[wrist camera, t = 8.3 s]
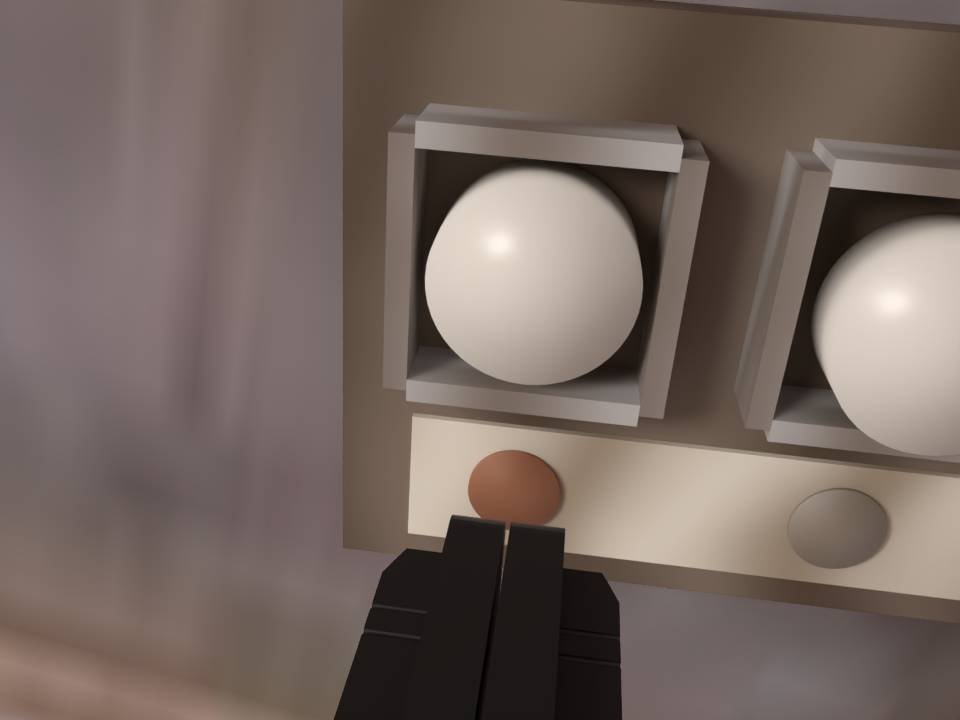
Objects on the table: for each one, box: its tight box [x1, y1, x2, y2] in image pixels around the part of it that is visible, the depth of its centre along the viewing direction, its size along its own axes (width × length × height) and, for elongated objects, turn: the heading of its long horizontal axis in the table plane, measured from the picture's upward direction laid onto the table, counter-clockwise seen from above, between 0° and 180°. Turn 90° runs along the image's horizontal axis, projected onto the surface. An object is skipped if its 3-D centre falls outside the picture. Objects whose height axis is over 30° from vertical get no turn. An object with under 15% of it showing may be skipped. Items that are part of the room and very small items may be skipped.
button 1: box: [425, 159, 643, 385], centre depth 22 cm, size 5×5×2 cm
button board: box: [343, 0, 960, 624], centre depth 23 cm, size 28×16×4 cm, turn 86°
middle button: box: [811, 212, 960, 456], centre depth 20 cm, size 5×5×2 cm
